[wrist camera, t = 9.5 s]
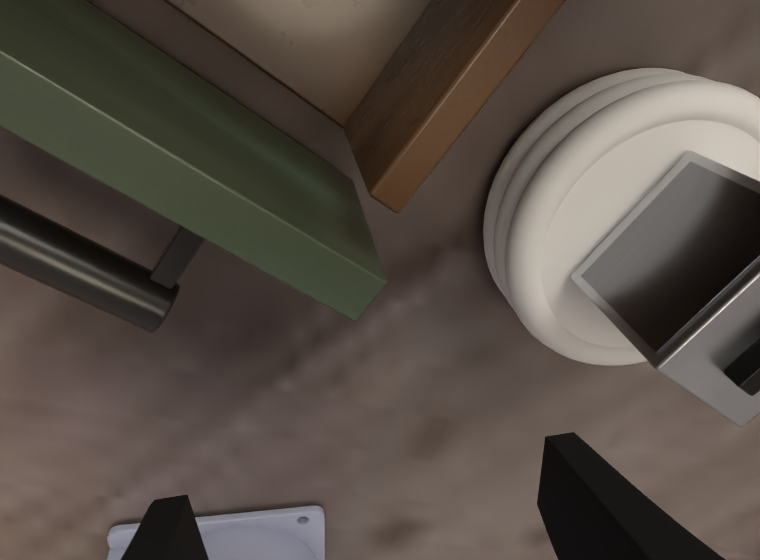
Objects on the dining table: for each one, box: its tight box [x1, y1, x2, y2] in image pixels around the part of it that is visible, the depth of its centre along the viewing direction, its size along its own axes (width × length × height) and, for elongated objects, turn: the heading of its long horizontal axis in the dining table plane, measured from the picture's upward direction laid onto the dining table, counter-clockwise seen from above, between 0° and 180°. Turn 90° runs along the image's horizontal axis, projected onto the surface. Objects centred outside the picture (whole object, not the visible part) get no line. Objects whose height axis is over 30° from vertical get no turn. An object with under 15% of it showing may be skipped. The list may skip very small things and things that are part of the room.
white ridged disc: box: [483, 68, 760, 366], centre depth 19 cm, size 10×10×4 cm
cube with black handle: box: [570, 151, 760, 427], centre depth 16 cm, size 5×4×5 cm
